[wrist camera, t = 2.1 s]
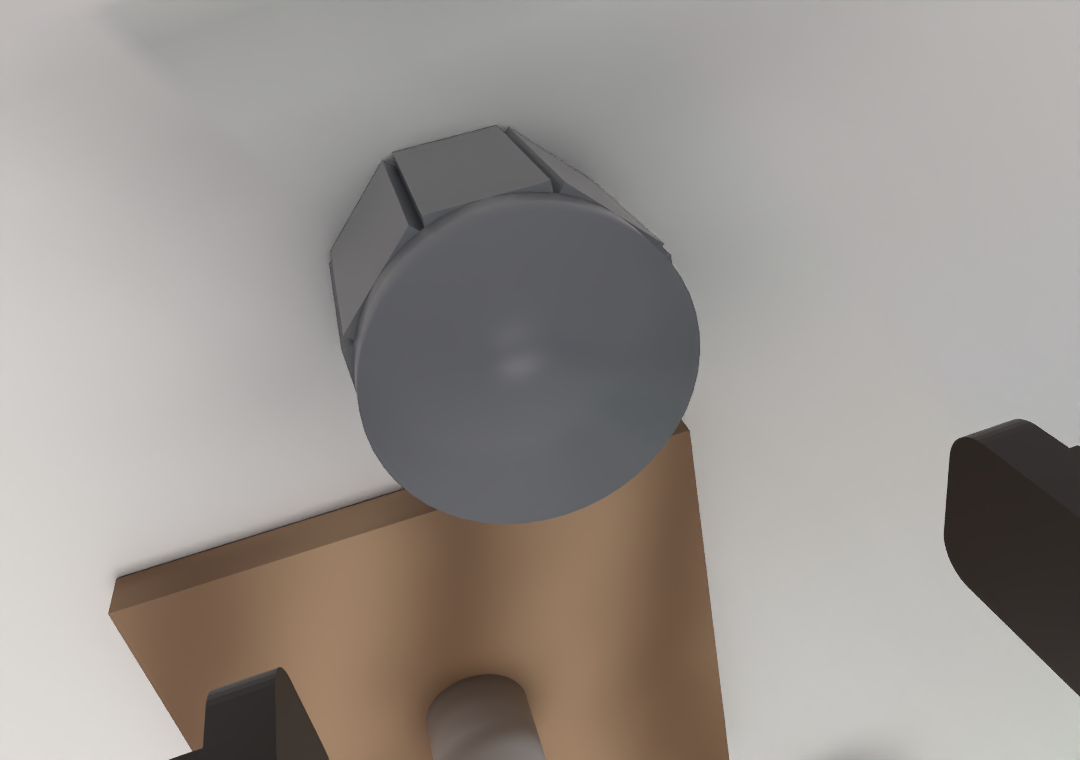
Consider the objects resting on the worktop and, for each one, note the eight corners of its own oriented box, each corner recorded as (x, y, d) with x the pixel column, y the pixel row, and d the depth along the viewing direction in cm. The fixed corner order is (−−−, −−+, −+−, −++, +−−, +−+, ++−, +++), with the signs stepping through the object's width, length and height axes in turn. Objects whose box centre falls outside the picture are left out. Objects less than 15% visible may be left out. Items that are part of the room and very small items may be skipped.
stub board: (670, 406, 23) (755, 515, 19) (716, 749, 30) (784, 881, 26) (116, 579, 21) (78, 740, 17) (306, 900, 28) (311, 1067, 24)
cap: (584, 102, 18) (682, 166, 14) (623, 349, 21) (713, 466, 17) (299, 176, 18) (307, 269, 13) (382, 422, 21) (411, 564, 16)
